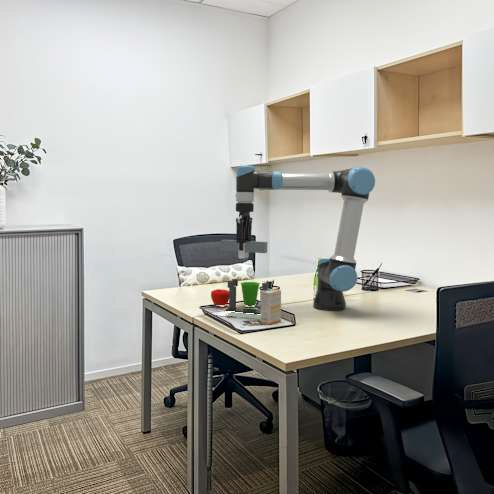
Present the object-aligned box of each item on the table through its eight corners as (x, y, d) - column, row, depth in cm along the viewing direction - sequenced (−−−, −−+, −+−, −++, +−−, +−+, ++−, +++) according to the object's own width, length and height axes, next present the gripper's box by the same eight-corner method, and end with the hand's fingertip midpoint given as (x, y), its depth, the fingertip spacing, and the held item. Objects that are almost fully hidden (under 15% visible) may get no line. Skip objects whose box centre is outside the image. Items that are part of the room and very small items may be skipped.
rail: (267, 252, 212) (267, 241, 211) (264, 253, 209) (264, 242, 208) (223, 249, 219) (223, 239, 219) (220, 250, 216) (220, 240, 215)
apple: (208, 305, 238) (208, 288, 237) (226, 304, 241) (226, 287, 240) (213, 308, 229) (213, 292, 228) (232, 307, 232) (232, 291, 232)
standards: (274, 313, 222) (274, 281, 221) (269, 316, 216) (270, 283, 215) (229, 309, 229) (230, 278, 228) (224, 311, 223) (224, 280, 222)
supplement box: (271, 319, 210) (272, 288, 208) (281, 321, 207) (281, 289, 205) (259, 323, 203) (260, 291, 202) (269, 325, 200) (269, 292, 199)
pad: (269, 317, 214) (269, 315, 214) (264, 320, 208) (264, 319, 208) (222, 312, 222) (222, 311, 222) (215, 315, 215) (215, 314, 215)
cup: (257, 309, 230) (258, 285, 229) (238, 308, 232) (238, 284, 231) (261, 305, 239) (261, 282, 238) (242, 304, 240) (242, 281, 240)
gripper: (243, 202, 221) (242, 255, 223) (228, 202, 206) (227, 259, 208) (259, 202, 218) (258, 256, 220) (245, 202, 203) (244, 260, 205)
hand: (243, 257), depth 214 cm, fingers closed on rail, 3 cm apart
